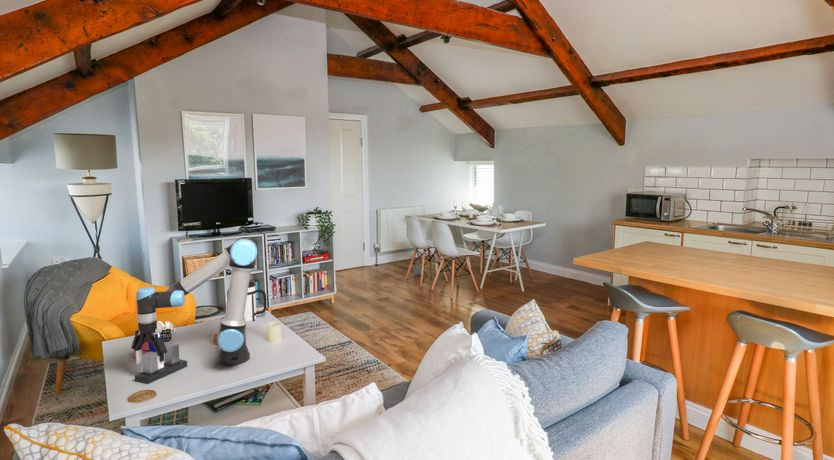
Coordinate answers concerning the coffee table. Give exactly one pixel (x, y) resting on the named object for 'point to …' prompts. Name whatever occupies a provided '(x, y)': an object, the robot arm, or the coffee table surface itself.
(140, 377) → the rail
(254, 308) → the coffee press
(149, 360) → the steel peg
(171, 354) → the seated peg
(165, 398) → the coffee table surface
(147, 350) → the puzzle cube
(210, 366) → the coffee table surface
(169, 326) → the lotus flower
